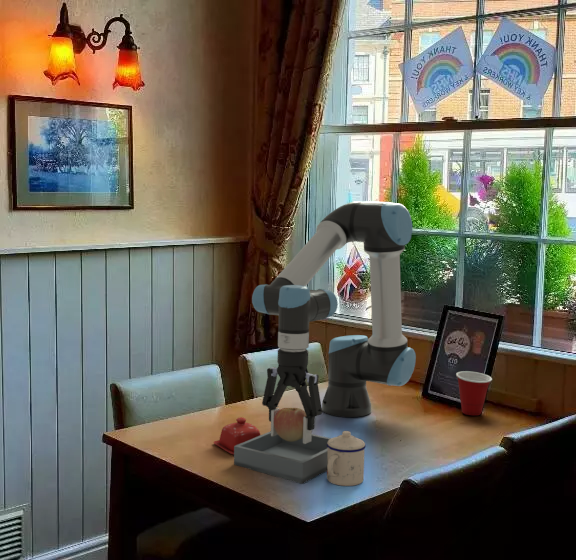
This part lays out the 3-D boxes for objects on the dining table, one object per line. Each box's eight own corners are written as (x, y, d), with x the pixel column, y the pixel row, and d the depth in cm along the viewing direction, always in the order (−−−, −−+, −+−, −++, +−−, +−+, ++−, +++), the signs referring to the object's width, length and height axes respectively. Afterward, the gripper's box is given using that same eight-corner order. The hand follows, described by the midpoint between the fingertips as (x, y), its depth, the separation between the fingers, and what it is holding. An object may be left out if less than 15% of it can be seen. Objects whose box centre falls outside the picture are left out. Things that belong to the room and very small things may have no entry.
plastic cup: (479, 420, 244) (481, 381, 242) (447, 413, 251) (449, 374, 250) (496, 413, 252) (498, 375, 251) (465, 406, 259) (467, 369, 258)
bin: (233, 465, 200) (234, 446, 200) (280, 445, 217) (280, 427, 216) (302, 484, 189) (302, 463, 188) (345, 460, 205) (346, 441, 205)
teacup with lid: (338, 470, 199) (339, 423, 197) (371, 478, 193) (373, 430, 192) (311, 484, 189) (312, 435, 187) (345, 493, 184) (347, 443, 182)
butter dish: (271, 452, 212) (271, 420, 211) (232, 459, 206) (232, 426, 205) (248, 440, 221) (249, 409, 220) (210, 446, 215) (211, 415, 214)
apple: (282, 446, 196) (283, 414, 195) (267, 436, 204) (268, 405, 203) (314, 442, 200) (315, 410, 199) (299, 432, 208) (300, 401, 207)
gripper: (248, 345, 202) (246, 433, 205) (322, 357, 190) (319, 451, 193) (266, 341, 209) (264, 427, 211) (339, 352, 197) (336, 443, 199)
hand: (290, 438), depth 202 cm, fingers closed on apple, 9 cm apart
